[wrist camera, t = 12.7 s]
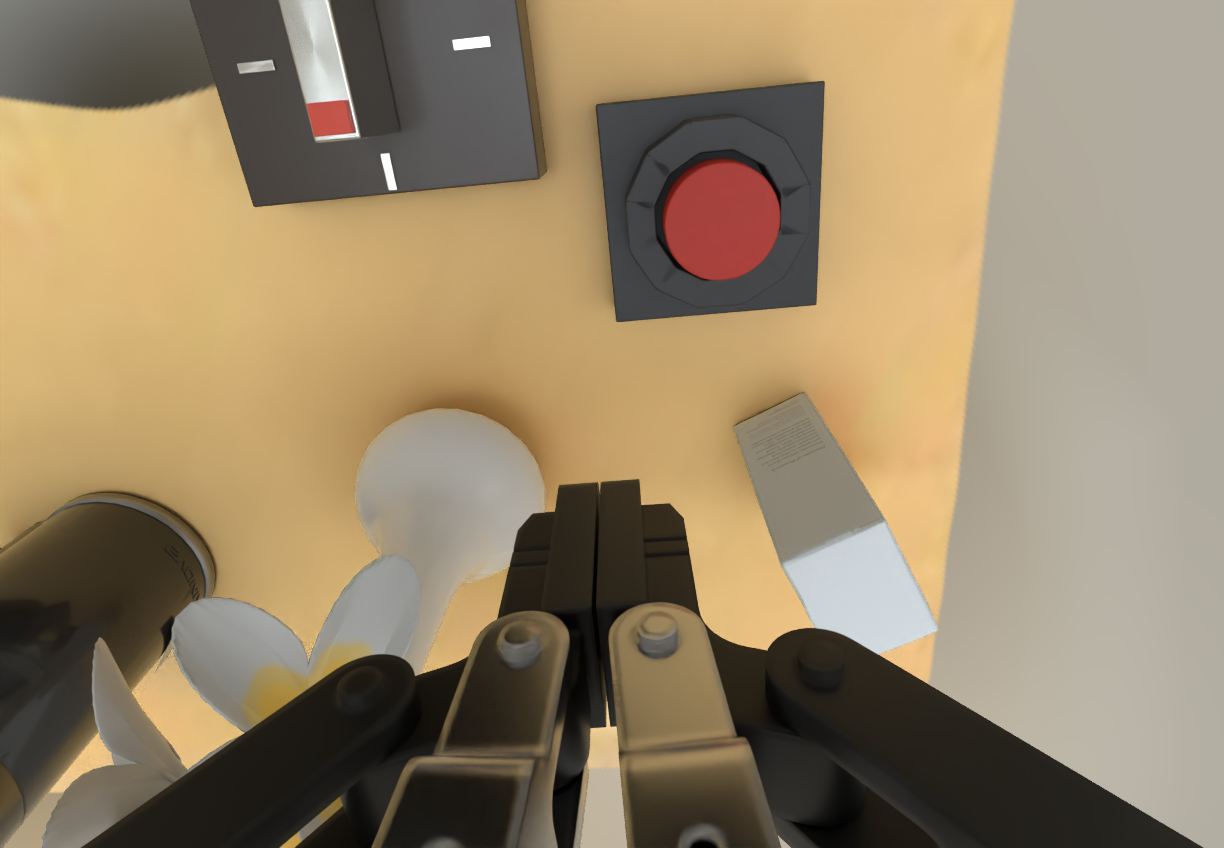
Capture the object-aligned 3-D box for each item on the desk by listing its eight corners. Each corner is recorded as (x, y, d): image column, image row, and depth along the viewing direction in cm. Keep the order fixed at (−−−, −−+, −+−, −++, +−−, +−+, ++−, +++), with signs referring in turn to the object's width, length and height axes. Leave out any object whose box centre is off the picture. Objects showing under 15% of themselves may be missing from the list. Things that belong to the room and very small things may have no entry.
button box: (616, 308, 33) (615, 335, 29) (597, 103, 29) (593, 105, 25) (804, 292, 32) (827, 317, 29) (811, 81, 28) (838, 80, 25)
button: (665, 275, 28) (668, 285, 27) (658, 163, 27) (661, 167, 25) (771, 265, 28) (780, 275, 27) (772, 152, 26) (781, 156, 25)
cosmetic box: (849, 476, 37) (943, 635, 26) (776, 509, 38) (838, 675, 27) (805, 385, 34) (888, 518, 24) (729, 423, 35) (775, 567, 25)
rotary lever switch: (285, 197, 31) (251, 207, 28) (208, -69, 27) (158, -89, 24) (547, 171, 30) (539, 179, 27) (511, -106, 26) (498, -131, 23)
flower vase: (400, 613, 41) (135, 1232, 19) (308, 323, 33) (-342, 797, 11) (613, 597, 41) (599, 1223, 18) (570, 295, 33) (452, 745, 10)
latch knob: (323, -29, 24) (259, -55, 20) (366, -34, 24) (311, -62, 20) (361, 136, 27) (311, 143, 23) (400, 132, 27) (358, 139, 22)
